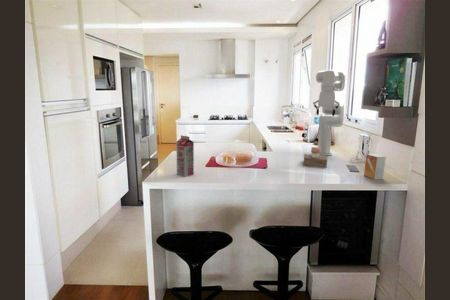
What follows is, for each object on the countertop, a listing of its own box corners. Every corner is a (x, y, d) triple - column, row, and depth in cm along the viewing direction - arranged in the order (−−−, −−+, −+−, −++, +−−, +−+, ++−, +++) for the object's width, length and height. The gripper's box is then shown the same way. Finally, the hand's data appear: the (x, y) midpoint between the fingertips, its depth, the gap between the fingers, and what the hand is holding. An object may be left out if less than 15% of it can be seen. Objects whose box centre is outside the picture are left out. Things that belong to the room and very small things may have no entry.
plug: (310, 162, 192) (311, 146, 190) (318, 163, 191) (320, 147, 189) (310, 164, 187) (311, 148, 185) (319, 165, 185) (320, 148, 183)
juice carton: (185, 172, 166) (185, 134, 161) (193, 174, 162) (193, 136, 157) (176, 174, 161) (176, 135, 156) (184, 177, 156) (184, 137, 152)
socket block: (303, 162, 197) (304, 153, 196) (324, 164, 194) (325, 155, 193) (303, 167, 184) (304, 158, 183) (326, 169, 180) (327, 159, 179)
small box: (363, 175, 167) (366, 153, 165) (372, 175, 169) (374, 153, 167) (374, 179, 160) (377, 156, 157) (383, 178, 162) (386, 156, 159)
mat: (335, 164, 193) (335, 163, 193) (355, 166, 190) (355, 165, 190) (338, 170, 178) (338, 169, 178) (359, 172, 175) (359, 171, 174)
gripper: (340, 90, 190) (338, 116, 193) (313, 89, 195) (311, 114, 197) (342, 89, 183) (339, 116, 186) (314, 88, 188) (312, 115, 190)
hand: (325, 115), depth 192 cm, fingers open, 9 cm apart
